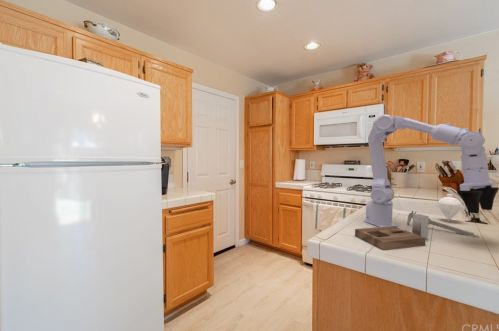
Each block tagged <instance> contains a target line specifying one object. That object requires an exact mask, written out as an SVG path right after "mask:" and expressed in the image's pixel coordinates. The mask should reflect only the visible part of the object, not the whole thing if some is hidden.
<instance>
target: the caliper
mask: <svg viewBox="0 0 499 331" xmlns="http://www.w3.org/2000/svg"><path fill="white" fill-rule="evenodd" d="M414 214H417V211H415V212H414V211H413V210H412V211H411V212H410V213H408V215H407V221H406V222H407V226H409V225H410V223H411V221H412V220H413V215H414ZM430 225H432V226H435V227H439V228H442V229H445V230H448V231H451V232H455V233H457V234H461V235H463V236H467V237H472V238H474V237H475V238H478V239H479V238H480V236H479V235H478V234H475V233H474V232H472V231H468V230H465V229H462V228H458V227H455V226H453V225H449V224H445V223H442V222H439V221H436V220H432V219H431V218H430V217H429V219H428V226H430Z"/></svg>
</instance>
